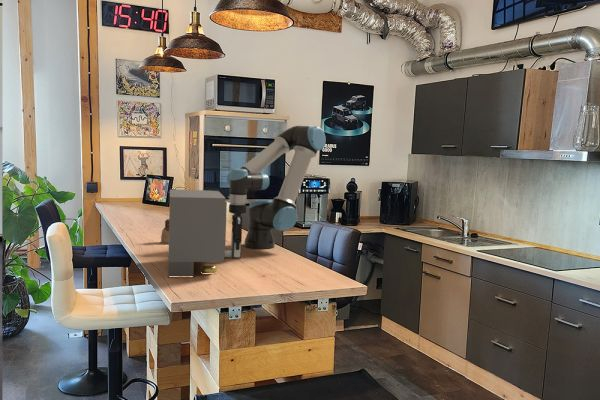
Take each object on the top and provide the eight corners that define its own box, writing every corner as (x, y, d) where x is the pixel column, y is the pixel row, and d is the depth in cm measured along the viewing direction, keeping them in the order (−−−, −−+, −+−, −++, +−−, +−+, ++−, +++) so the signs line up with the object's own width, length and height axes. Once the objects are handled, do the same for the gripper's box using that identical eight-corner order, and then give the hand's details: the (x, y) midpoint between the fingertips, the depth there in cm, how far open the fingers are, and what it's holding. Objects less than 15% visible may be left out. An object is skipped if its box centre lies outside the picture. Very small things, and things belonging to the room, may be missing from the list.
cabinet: (219, 259, 213) (222, 190, 210) (227, 276, 187) (229, 198, 183) (168, 260, 208) (169, 189, 205) (168, 277, 181) (170, 197, 178)
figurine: (177, 241, 246) (177, 218, 245) (174, 244, 239) (174, 220, 238) (163, 241, 246) (163, 217, 244) (159, 244, 239) (159, 219, 237)
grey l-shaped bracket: (239, 256, 222) (240, 229, 220) (240, 258, 218) (241, 231, 217) (194, 256, 216) (195, 229, 215) (194, 258, 213) (195, 231, 211)
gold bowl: (215, 271, 194) (215, 263, 194) (216, 275, 189) (217, 267, 188) (200, 271, 193) (200, 264, 192) (200, 275, 187) (201, 267, 187)
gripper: (226, 201, 225) (224, 250, 228) (231, 206, 206) (230, 260, 208) (242, 201, 227) (241, 250, 230) (249, 207, 208) (247, 260, 210)
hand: (235, 254), depth 219 cm, fingers open, 7 cm apart
